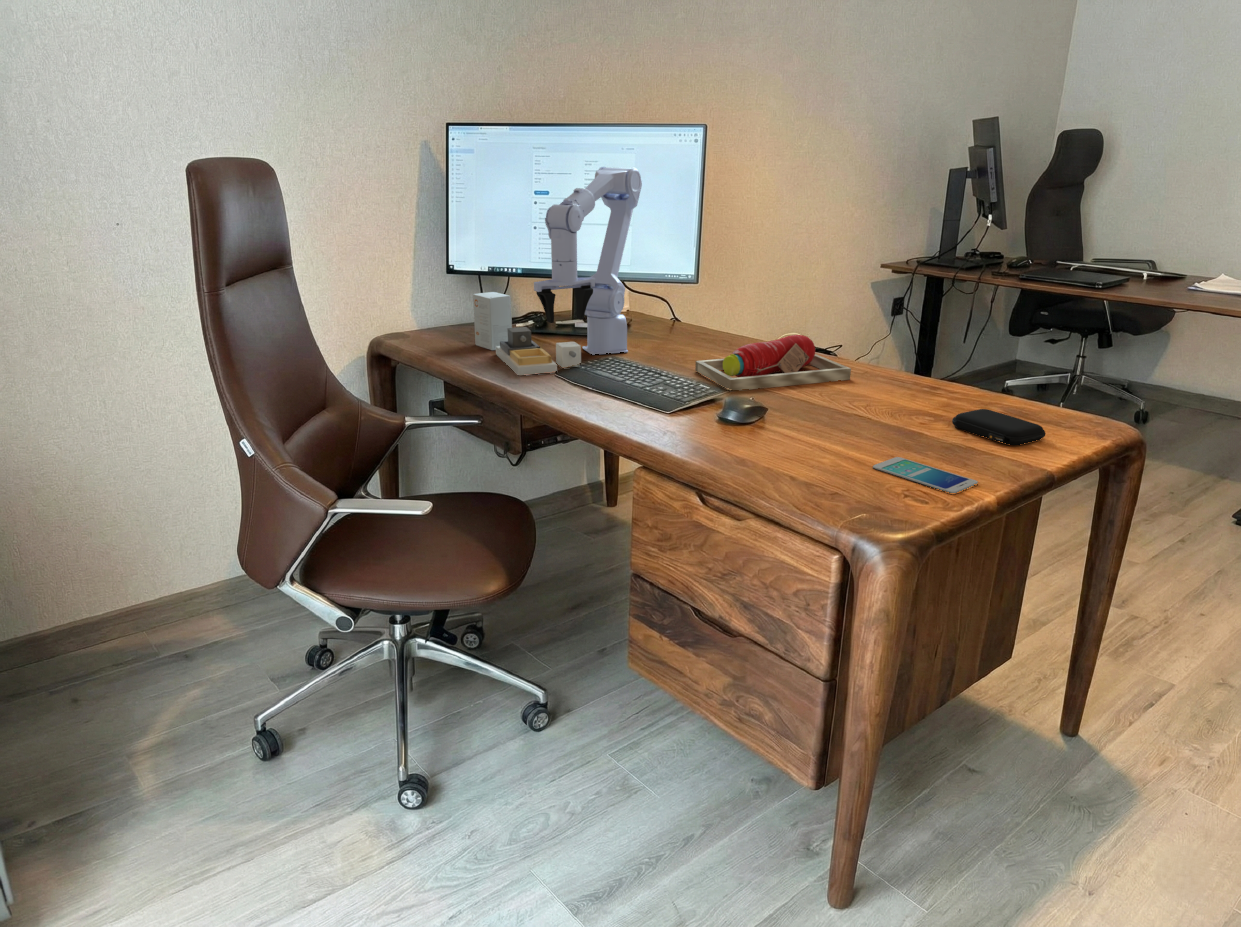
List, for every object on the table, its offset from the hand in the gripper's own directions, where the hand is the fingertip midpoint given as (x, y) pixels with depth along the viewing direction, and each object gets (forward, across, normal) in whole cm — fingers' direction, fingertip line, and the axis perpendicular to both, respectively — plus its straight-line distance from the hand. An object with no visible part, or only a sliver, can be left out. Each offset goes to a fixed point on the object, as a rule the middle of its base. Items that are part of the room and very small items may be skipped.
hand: (565, 320), depth 208 cm
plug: (+10, 0, 0) cm, 11 cm away
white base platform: (+10, +8, -6) cm, 14 cm away
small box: (+11, +7, -26) cm, 29 cm away
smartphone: (+11, -16, +92) cm, 95 cm away
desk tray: (+10, -35, +31) cm, 48 cm away
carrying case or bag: (+11, -44, +84) cm, 95 cm away
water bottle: (+11, -36, +31) cm, 48 cm away
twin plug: (+8, +7, -11) cm, 15 cm away
